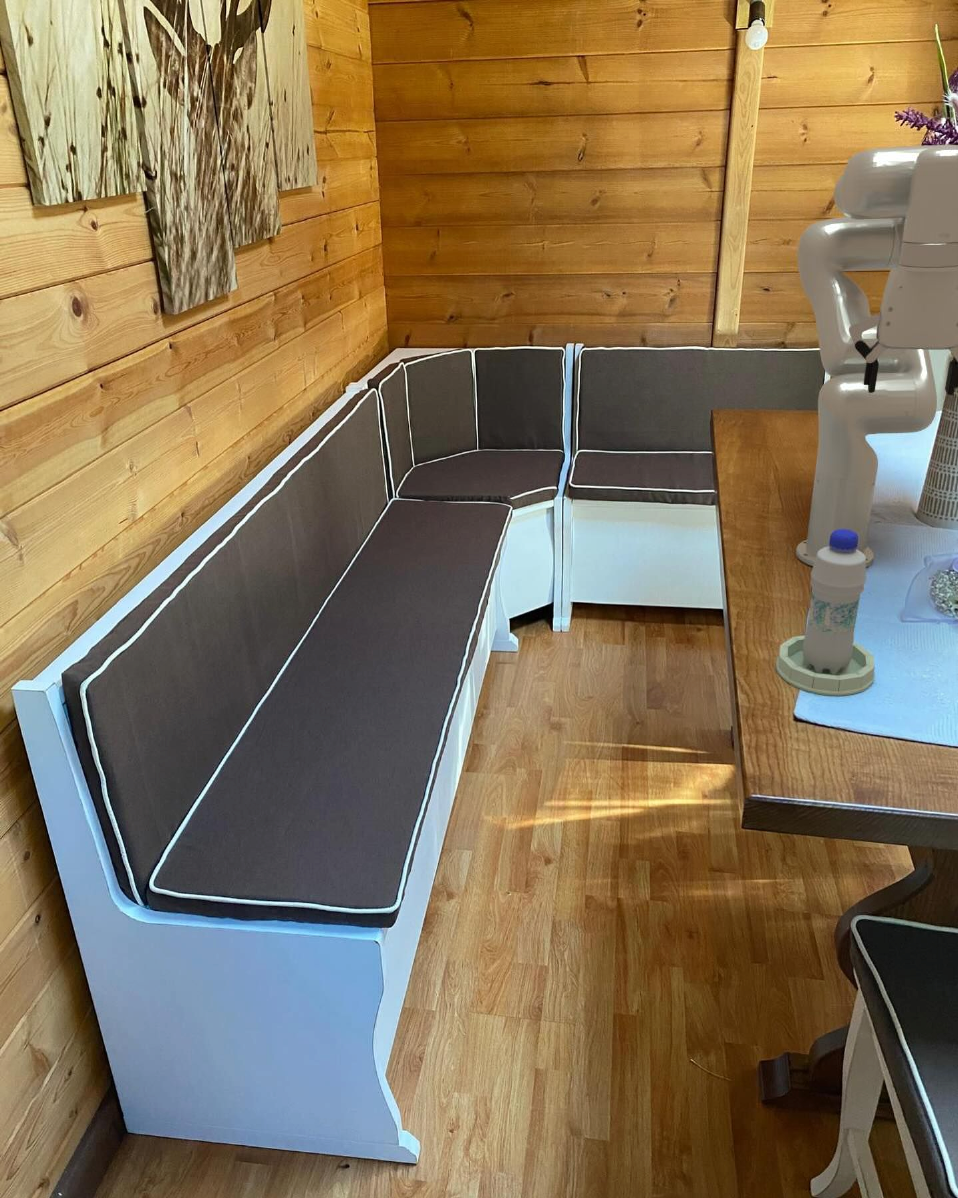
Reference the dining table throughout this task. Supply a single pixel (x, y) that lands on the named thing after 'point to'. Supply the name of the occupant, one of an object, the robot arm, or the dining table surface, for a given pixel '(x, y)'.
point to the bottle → (834, 603)
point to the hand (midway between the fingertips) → (909, 391)
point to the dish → (825, 671)
